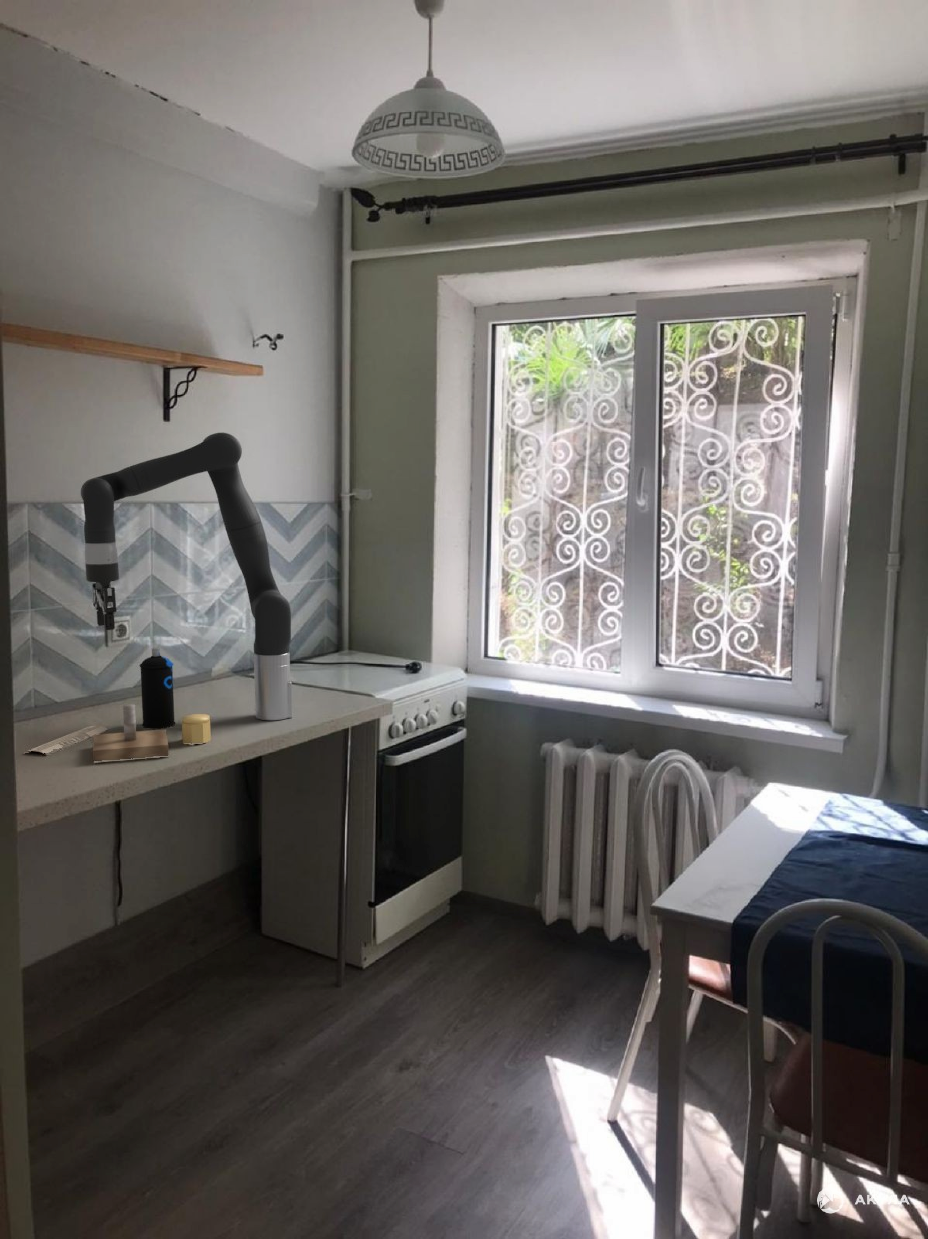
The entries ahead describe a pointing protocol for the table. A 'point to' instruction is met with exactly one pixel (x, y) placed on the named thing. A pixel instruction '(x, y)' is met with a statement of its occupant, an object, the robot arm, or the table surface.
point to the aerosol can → (157, 691)
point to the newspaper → (69, 739)
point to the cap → (196, 728)
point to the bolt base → (130, 741)
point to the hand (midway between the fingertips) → (106, 627)
